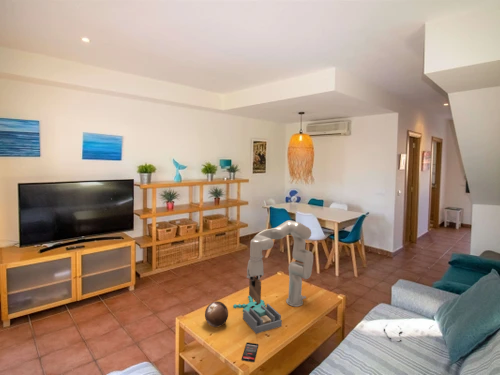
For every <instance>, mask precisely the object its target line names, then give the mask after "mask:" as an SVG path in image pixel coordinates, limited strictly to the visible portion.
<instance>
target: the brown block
mask: <svg viewBox="0 0 500 375" xmlns="http://www.w3.org/2000/svg"><path fill="white" fill-rule="evenodd" d="M248 279H249V278H248ZM254 281H255V287H253V286H252V285H251V279H249V285H248V289H249V290H248V296H251V297H252V298H253V301H254V302H255V301H256V302H257V303H261V300H262V299H261V298H262V280H261V279H260V280H259V279H257V278H256V276H254Z"/></svg>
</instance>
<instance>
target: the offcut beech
mask: <svg viewBox="0 0 500 375" xmlns="http://www.w3.org/2000/svg"><path fill="white" fill-rule="evenodd" d="M260 318H261V319H262V320H263V324H267V323H270V322H271V319H270V318H269V317H268V316H267V315H265V316H262V317H260Z"/></svg>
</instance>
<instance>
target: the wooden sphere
mask: <svg viewBox="0 0 500 375" xmlns="http://www.w3.org/2000/svg"><path fill="white" fill-rule="evenodd" d="M228 317H229V309H228V307H227V306H226V303H225V304H224V303H223V302H221V301H213V302H211V303H209V304H208V306H206V308H205V312H204V318H205V322H206V323H207V324H208V325H209V326H211V327H213V328H218V327H221V326H223V325H224V324H225V323H226V322H227V320H228Z"/></svg>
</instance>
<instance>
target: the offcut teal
mask: <svg viewBox="0 0 500 375" xmlns="http://www.w3.org/2000/svg"><path fill="white" fill-rule="evenodd" d="M254 311H255V312H256V313H257V315H258V316H259V317H262V316H264V315H265V310H263V309H262V308H260V307H258V308H255V309H254Z"/></svg>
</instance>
